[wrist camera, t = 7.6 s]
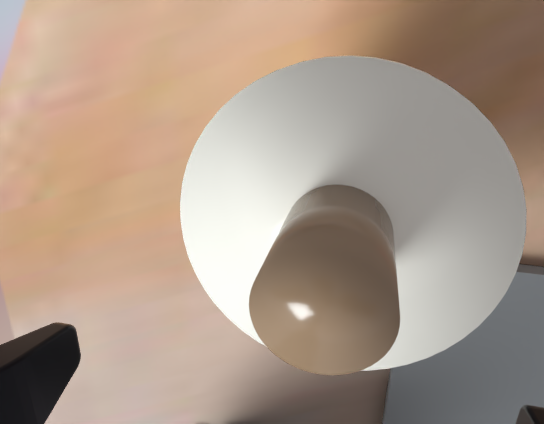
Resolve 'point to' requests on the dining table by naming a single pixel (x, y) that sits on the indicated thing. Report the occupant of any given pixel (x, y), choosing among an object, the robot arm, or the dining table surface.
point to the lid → (353, 214)
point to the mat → (479, 366)
